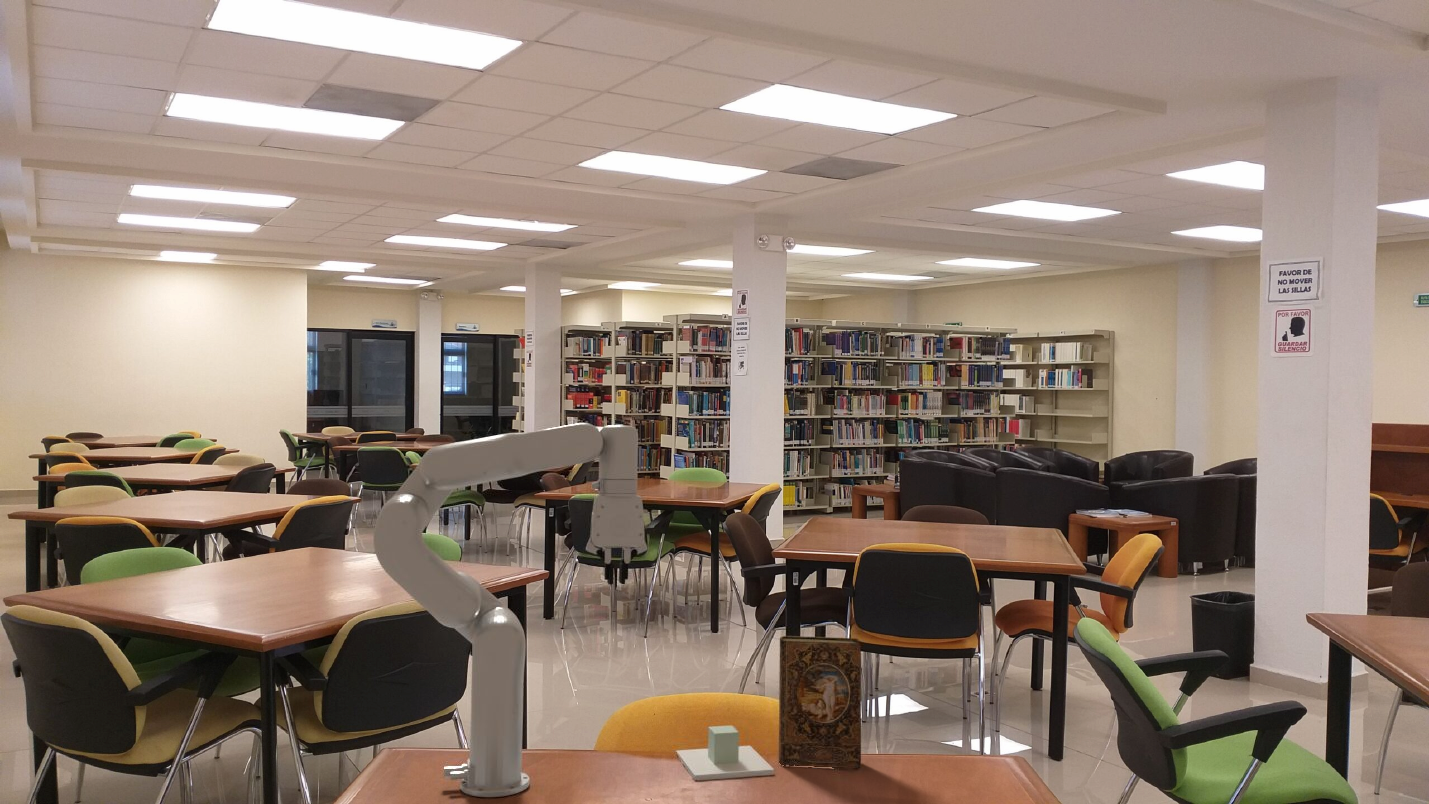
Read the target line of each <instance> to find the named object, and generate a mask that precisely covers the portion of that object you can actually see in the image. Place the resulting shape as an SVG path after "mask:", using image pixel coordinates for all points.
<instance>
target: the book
mask: <svg viewBox="0 0 1429 804" xmlns="http://www.w3.org/2000/svg"><path fill="white" fill-rule="evenodd" d="M861 648H862V647H861V645H860V640H859V638H857V637H832V636H830V637H828V636H800V635H799V636H798V635H794V636H793V635H785V636H780V637H779V673H778V674H779V676H778V677H779V679H778V680H779V681H778V682H779V685H778V687H779V688H778V689H779V690H778V697H779V698H778V703H779V704H778V705H779V706H778V707H779V708H778V764H779V763H780V764H781V765H784V766H786V765H789V766H794V765H795V766H814V767H832V768H834V769H833V770H839V769H847V771H849V770H850V771H851V770H854V771H855V770H859V769H860V767H861V762H862V657H861V656H862V649H861Z"/></svg>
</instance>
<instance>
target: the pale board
mask: <svg viewBox="0 0 1429 804" xmlns="http://www.w3.org/2000/svg"><path fill="white" fill-rule="evenodd" d="M676 752H677V754H678V756H679V758H680V759H681V761H682V762H683V764H684V765H685V767H686V768H685V767H684V768H685V770H686V769H687V770H688V771H687V770H686V771H687V773H688V772H689V773H690V774H689V773H688V774H689V775H690V777H691V776H692V777H691V778H692V779H693V780H697V781H707V780H709V781H710V780H721V779H734V778H735V779H736V778H746V777H747V778H748V777H749V778H750V777H757V776H758V777H760V776H774V775H775V769H774V768H773V767H772V766H771V765H770V764H769V763H768V762H767V761H766V760H765V758H763V757H762V756H761V755H760V754H759V753H758V752H757V751H756V750H755V749H754V748H753V747H752V746H751V745H739V758H738V763H729V764H713V762H712V761H711V760H710V759H709V757H708V747H707V748H696V749H681V750H680V749H679V750H675V753H676ZM683 764H682V765H683Z"/></svg>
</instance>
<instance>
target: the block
mask: <svg viewBox="0 0 1429 804" xmlns="http://www.w3.org/2000/svg"><path fill="white" fill-rule="evenodd" d="M707 732H708V735H707V737H708V738H707V739H708V740H707V748H708V757H709V759H710V760H711V761H712V762H713V764H729V763H738V758H739V746H740V745H739V744H740V743H739V741H740V739H739V738H740V736H739V735H740V733H739V731H738V730H737V728H736V727H734V726H733V725H719V726H715V725H714V726H708V731H707Z"/></svg>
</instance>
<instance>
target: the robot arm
mask: <svg viewBox="0 0 1429 804" xmlns="http://www.w3.org/2000/svg"><path fill="white" fill-rule="evenodd" d="M638 456H639V433H638V429H637V428H636V427H634V426H632V425H618V424H617V425H615V424H614V425H613V424H611V425H605V426H596V425H593V424H591V423H588V422H577V423H574V424H568V425H562V426H557V427H552V428H546V429H540V430H534V431H533V430H532V431H527V432H509V433H502V434H497V435H492V436H491V435H490V436H486V437H479V438H475V439H474V438H473V439H469V440H464V441H463V440H462V441H457V442H453V443H446V444H442V445H436V446H433V447H431V448H429V449H428V450H427V451H426V452H425V453H424V454H423V456H422V457H421V459H420V461H419V463H418V464H417V466H416V467H415V468H414V469H413V471H412V472H411V473H410V474H409V476H408V477H407V478H406V480H405V481H404V482H403V483H402V485H401V486H400V487H399V489H398V490H397V491H395V494H393V495H392V497H390V499H388V500H387V501H386V502H385V503H384V504H383V506H382V507H381V509H380V510H379V512H378V515H377V519H376V521H375V526H374V530H373V547H374V548H373V549H374V553H375V556H376V559H377V561H378V562H379V564H380V566H381V567H382V569H383V571H384V572H385V573H387V575H388V576H389V577H390V578H391V579H392V580H393V581H394V582H395V583H396V584H397V585H398V586H400V587H401V588H402V589H403V590H404V591H405V592H406V593H407V594H408V595H409V596H410V597H411V598H412V599H414V601H416V602H417V603H418V604H419V605H420V606H422V608H424V609H425V610H426V611H427V612H428V613H429V614H430V615H431V616H432V617H433V618H434V619H435V620H436V621H437V622H438V623H439V624H441V625H442V626H444V627H447V628H452V629H455V630H456V631H457V632H458V633H459V634H460V635H461V636H463V637H464V638H465V639H466V640H467V641H469V642H470V643H471V644H472V649H471V650H472V651H471V657H472V658H471V689H470V690H471V691H470V729H469V730H470V732H469V733H470V734H469V736H470V737H469V758H467V763H462V764H461V765H459V766H454V765H449V766H448V765H447V766H444V768H443V769H444V770H443V777H444V778H450V781H455V780H457V781H458V780H460V784H459V786H460V787H459V788H460V790H461V792H463V793H464V794H465V795H469V796H473V797H479V798H498V797H499V798H500V797H507V796H510V795H514V794H515V795H516V794H519V793H521V792H523V791H524V790H526V789H527V788H528V787H529V786H530V781H531V780H530V779H531V778H530V776H529V775H528V774H527V773H525V772H522V765H523V764H522V763H523V761H522V759H523V725H524V724H523V720H524V719H523V717H524V683H525V681H524V678H525V663H526V649H527V647H526V645H527V643H526V635H525V631H524V628H523V626H522V624H521V622H520V620H519V619H518V617H517V615H516V614H515V613H514V612H513V611H512V610H511V609H510V608H508V607H507V606H506V605H505V604H504V603H503V602H502V601H501V600H499V599H498V598H497V597H496V596H495V595H494V594H493V593H491V592H490V591H489V590H488V589H487V588H485V587H484V586H483V585H482V584H481V583H480V582H479V581H478V580H477V579H476V578H474V577H473V576H471V575H470V574H468V573H465V572H461V571H456V570H455V569H454V568H452V567H451V566H450V565H449V564H448V563H447V562H445V561H444V559H443V558H442V557H441V556H439V555H438V554H437V553H436V552H435V551H434V550H432V548H430V547H429V546H428V545H427V544H426V542H425V540H424V537H423V533H424V530H425V529H426V527H427V525H428V524H429V523H430V521H431V520H432V518H433V517H434V516H435V514H436V513H437V512H438V511H439V509H441V507H442V506H443V504H444V503H445V502H446V501H447V499H448V498H449V497H450V496H451V494H452V493H453V491H454V490H456V489H461V488H466V487H470V486H471V487H472V486H475V485H480V484H481V485H482V484H486V483H491V482H496V481H502V480H508V479H514V478H519V477H523V476H527V475H529V474H533V473H537V472H543V471H547V470H553V469H558V468H564V467H568V466H574V465H580V464H585V463H590V462H592V461H598V479H597V480H596V481H595V482H591V484H590V488H591V490H594V491H597V493H598V494H596V495H594V498H593V499H594V500H593V504H592V511H591V521H590V532H589V533H590V535H589V539H588V542H587V543H586V547H585V551H587V552H588V553H591V554H594V555H597V557H598V558H600V560H602V561H603V562H604V572H603V573H604V575H603V576H604V581H607V584H608V585H613V584H614V573H615V572H614V569H615V568H614V567H615V565H614V563H613V560H612V548H617V549H618V548H620V549H621V548H622V550H621V558H620V562H619V563H618V564H619V565H618V583H619V584H621V585H626V580H628V579H629V564H630V563H631V561H632V560H633V559H634V558H635V557H636V556H637V555H640V554H642V553H644V552H647V551H648V545H647V543H646V539H645V516H644V506H643V499H642V496H641V495H638V464H639V463H638V461H639V459H638V458H639V457H638ZM601 548H602V549H601Z"/></svg>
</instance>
